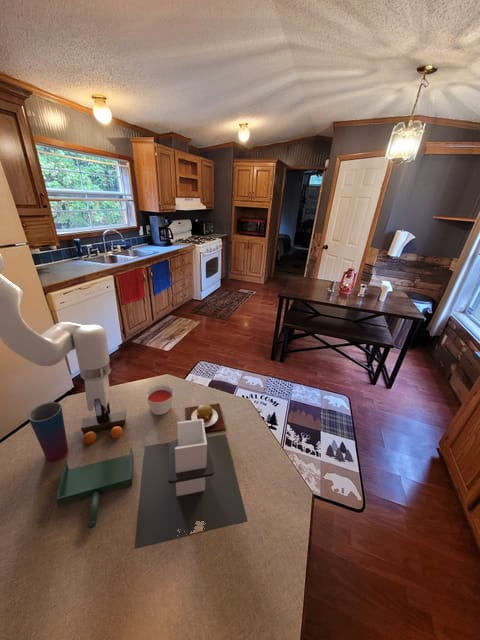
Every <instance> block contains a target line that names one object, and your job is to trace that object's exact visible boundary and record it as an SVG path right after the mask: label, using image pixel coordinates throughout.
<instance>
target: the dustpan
mask: <svg viewBox="0 0 480 640" xmlns="http://www.w3.org/2000/svg"><path fill="white" fill-rule="evenodd" d="M133 453H134V452H133V447H130V448H129V454H127V455H122V456H118V457H113V458H110V459H105V460H101V461H98V462H93V463H89V464H85V465H81V466H77V467H72V468H69V465H68V463H67V462H65V463H64V466H63V470H62V474H61V477H60V481H59V484H58V489H57V492H56V496H55V503H56V505H57V507H61V506H65V505H67V504H71V503H75V502H78V501H82V500H85V499H89V498H91V499H90V505H89V512H88V517H87V518H88V519H87V528H88V529H90V530H91V529H94V528H95V527H96V525H97V520H98V510H99V502H100V495H103V494H106V493H110V492H114V491H117V490H121V489H125V488H127V487H131V486H133V478H134V477H133V476H134V475H133V472H134V470H133V469H134V468H133V467H134V466H133V464H134V460H133V459H134V454H133Z"/></svg>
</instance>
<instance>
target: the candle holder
mask: <svg viewBox="0 0 480 640" xmlns="http://www.w3.org/2000/svg"><path fill="white" fill-rule="evenodd" d="M141 469H142V470H141V480H140V488H139V489H140V490H139V500H138V509H137V518H136V519H137V520H136V527H135V528H136V529H135V538H134V549H138V548H141V547H146V546H150V545H154V544H159V543H162V542H166V541H170V540H174V539H178V538H182V537H187V536H191V535H192V534H190V532H191V531H192V532H193V530H195V529H194V527H195V526H197V525H196V524H195V523H196V521H200V522H201V521H204V522H205V523H206V524H205V523H204V524H205V525H203V526H204V528H205V529H204V528H203V530H204V531H203V532H207V531H211V530H215V529H220V528H225V527H228V526H232V525H235V524H239V523H244V522H247V521H248V517H247V514H246V513H247V512H246V510H245V505H244V501H243V498H242V494H241V490H240V487H239V486H240V485H239V481H238V478H237V473H236V469H235V465H234V462H233V457H232V453H231V449H230V445H229V441H228V437H227V434H226V433H224V434H218V435H210V436H208V435H207V433H205V428H204V422H203V419H197V420H190V421H186V420H182V421H177V438H176V439H174V440H171V441H170V442H163V443H156V444H150V445H144V448H143V460H142V468H141ZM178 529H179V531H180V533H179V532H178V531H177V530H178ZM180 529H181V530H180ZM184 531H185V532H184ZM186 534H187V535H186ZM177 535H178V536H179V537H178V536H177ZM177 537H178V538H177Z"/></svg>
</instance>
